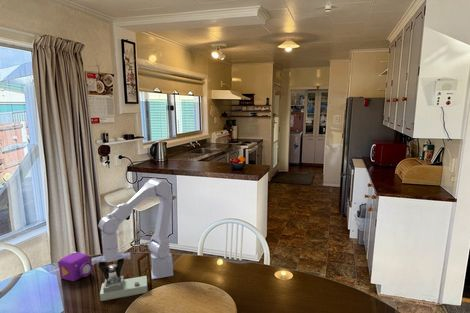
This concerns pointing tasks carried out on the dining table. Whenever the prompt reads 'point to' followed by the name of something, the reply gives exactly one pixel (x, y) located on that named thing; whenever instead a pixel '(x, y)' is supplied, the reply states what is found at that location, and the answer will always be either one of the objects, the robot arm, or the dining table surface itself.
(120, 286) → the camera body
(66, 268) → the toy camera
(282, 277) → the dining table surface
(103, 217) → the robot arm
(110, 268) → the lens
